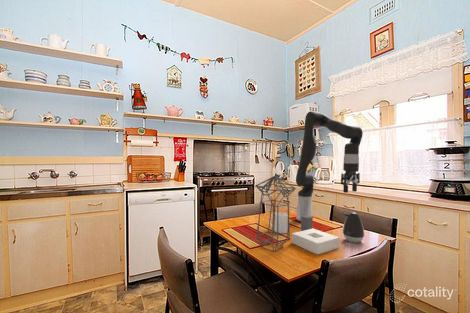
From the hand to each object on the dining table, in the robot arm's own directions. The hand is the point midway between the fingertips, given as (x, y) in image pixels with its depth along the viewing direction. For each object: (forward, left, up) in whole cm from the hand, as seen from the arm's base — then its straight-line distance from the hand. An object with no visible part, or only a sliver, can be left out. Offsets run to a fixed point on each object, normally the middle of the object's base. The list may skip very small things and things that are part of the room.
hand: (350, 191), depth 126 cm
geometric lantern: (-11, -45, -26) cm, 53 cm away
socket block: (-3, -25, -26) cm, 36 cm away
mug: (-29, -26, -26) cm, 47 cm away
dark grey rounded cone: (+3, -2, -26) cm, 26 cm away
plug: (-17, -15, -26) cm, 34 cm away
